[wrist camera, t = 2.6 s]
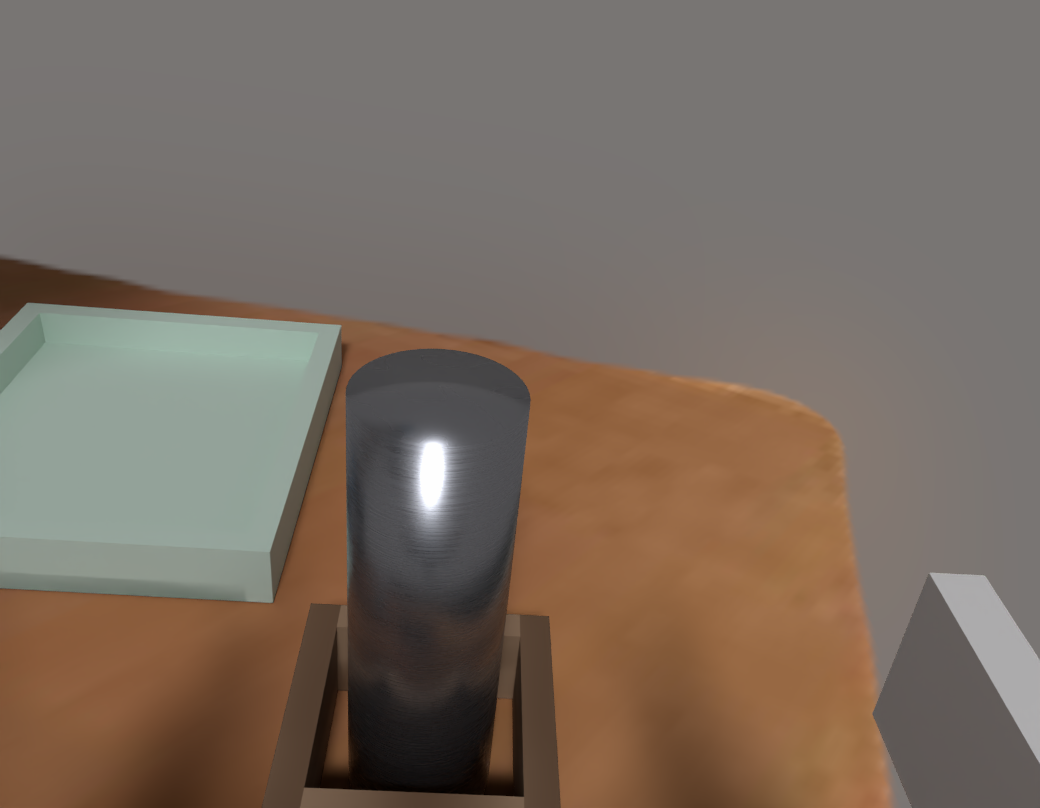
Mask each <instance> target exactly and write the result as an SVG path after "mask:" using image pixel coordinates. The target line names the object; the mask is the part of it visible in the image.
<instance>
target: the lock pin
mask: <svg viewBox="0 0 1040 808" xmlns="http://www.w3.org/2000/svg"><path fill="white" fill-rule="evenodd" d="M529 410H530V394H529V391H528V389H527V387H526V385H525V384H524V382H523V381H522V380H521V379H520V378H519V377H518V376H517V375H516V374H515V373H514V372H512V371H511V370H510V369H508V368H507V367H505V366H503V365H501V364H499V363H497V362H495V361H493V360H490V359H488V358H485V357H482V356H479V355H475V354H471V353H467V352H461V351H455V350H446V349H417V350H408V351H402V352H397V353H393V354H389V355H386V356H383V357H380V358H378V359H375V360H373V361H371V362H369V363H367V364H366V365H364V366H363V367H361V368H360V369H359V370H358V371H357V372H356V373H355V374H354V375H353V376H352V377H351V379H350V380H349V382H348V385H347V388H346V486H347V617H348V747H349V783H350V787H351V790H372V791H395V792H419V793H443V794H467V795H483V793H484V791H485V788H486V785H487V781H488V772H489V764H490V755H491V746H492V737H493V728H494V719H495V711H496V702H497V693H498V684H499V675H500V666H501V658H502V649H503V640H504V631H505V622H506V613H507V605H508V596H509V587H510V578H511V569H512V560H513V551H514V543H515V534H516V525H517V516H518V507H519V498H520V490H521V481H522V472H523V463H524V454H525V445H526V437H527V428H528V419H529Z"/></svg>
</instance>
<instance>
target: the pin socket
mask: <svg viewBox="0 0 1040 808" xmlns="http://www.w3.org/2000/svg"><path fill="white" fill-rule="evenodd" d="M338 690H343V691H348V617H347V605H330V604H312V603H311V606H310V610H309V614H308V618H307V622H306V626H305V630H304V635H303V639H302V643H301V647H300V651H299V655H298V659H297V664H296V668H295V672H294V676H293V680H292V684H291V688H290V693H289V697H288V701H287V705H286V709H285V713H284V717H283V721H282V726H281V730H280V734H279V738H278V742H277V746H276V750H275V755H274V759H273V763H272V767H271V771H270V775H269V779H268V783H267V788H266V792H265V796H264V800H263V804H262V808H561V806H560V789H559V773H558V756H557V740H556V723H555V706H554V690H553V673H552V657H551V640H550V623H549V616H533V615H515V614H506V622H505V631H504V640H503V649H502V658H501V666H500V675H499V684H498V693H497V698H508V699H512V707H513V784H514V796H491V795H467V794H443V793H419V792H395V791H372V790H348V789H324V788H320V783H321V777H322V772H323V767H324V761H325V756H326V751H327V745H328V740H329V734H330V729H331V724H332V718H333V713H334V708H335V702H336V697H337V692H338Z"/></svg>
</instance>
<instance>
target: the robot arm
mask: <svg viewBox="0 0 1040 808" xmlns="http://www.w3.org/2000/svg"><path fill="white" fill-rule="evenodd" d="M873 716H874V719H875V721H876V723H877V726H878V728H879V731H880V733H881V735H882V738H883V740H884V742H885V745H886V747H887V750H888V752H889V754H890V757H891V759H892V761H893V764H894V766H895V768H896V771H897V773H898V776H899V778H900V780H901V783H902V785H903V787H904V790H905V792H906V795H907V797H908V799H909V801H910V804H911V806H912V808H1040V660H1039V658H1038V657H1037V655H1036V654H1035V653H1034V651H1033V649H1032V647H1031V646H1030V644H1029V643H1028V641H1027V640H1026V638H1025V637H1024V635H1023V634H1022V632H1021V631H1020V629H1019V628H1018V626H1017V624H1016V623H1015V621H1014V620H1013V618H1012V617H1011V615H1010V614H1009V612H1008V611H1007V609H1006V607H1005V606H1004V605H1003V603H1002V601H1001V600H1000V598H999V597H998V595H997V594H996V592H995V591H994V589H993V588H992V586H991V585H990V583H989V581H988V580H987V578H986V577H985V576H984V575H963V574H945V573H929V574H928V577H927V579H926V582H925V584H924V587H923V590H922V592H921V594H920V597H919V599H918V602H917V604H916V607H915V609H914V612H913V614H912V617H911V619H910V622H909V624H908V627H907V629H906V632H905V634H904V637H903V639H902V642H901V644H900V647H899V649H898V652H897V654H896V657H895V659H894V662H893V664H892V667H891V669H890V671H889V674H888V676H887V679H886V681H885V684H884V687H883V689H882V691H881V694H880V696H879V699H878V701H877V704H876V706H875V709H874V711H873Z"/></svg>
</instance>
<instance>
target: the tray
mask: <svg viewBox="0 0 1040 808" xmlns="http://www.w3.org/2000/svg"><path fill="white" fill-rule="evenodd" d="M341 367H342V349H341V325H329V324H315V323H301V322H288V321H274V320H260V319H246V318H232V317H219V316H205V315H191V314H177V313H163V312H150V311H136V310H122V309H108V308H94V307H80V306H67V305H53V304H39V303H27V304H26V305H25V306H24V307H23V308H22V309H21V310H20V311H19V312H18V313H17V314H16V315H15V316H14V317H13V318H12V319H11V320H10V321H9V322H8V323H7V324H6V325H5V326H4V327H3V328H2V329H1V330H0V588H7V589H25V590H44V591H62V592H81V593H99V594H118V595H136V596H155V597H173V598H192V599H210V600H229V601H247V602H266V603H273V601H274V598H275V595H276V591H277V588H278V584H279V581H280V577H281V574H282V570H283V567H284V564H285V560H286V557H287V553H288V550H289V546H290V543H291V539H292V536H293V533H294V529H295V526H296V522H297V519H298V515H299V512H300V508H301V505H302V502H303V498H304V495H305V491H306V488H307V484H308V481H309V477H310V474H311V471H312V467H313V464H314V460H315V457H316V453H317V450H318V447H319V443H320V440H321V436H322V433H323V429H324V426H325V422H326V419H327V416H328V412H329V409H330V405H331V402H332V398H333V395H334V391H335V388H336V385H337V381H338V378H339V374H340V371H341Z"/></svg>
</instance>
